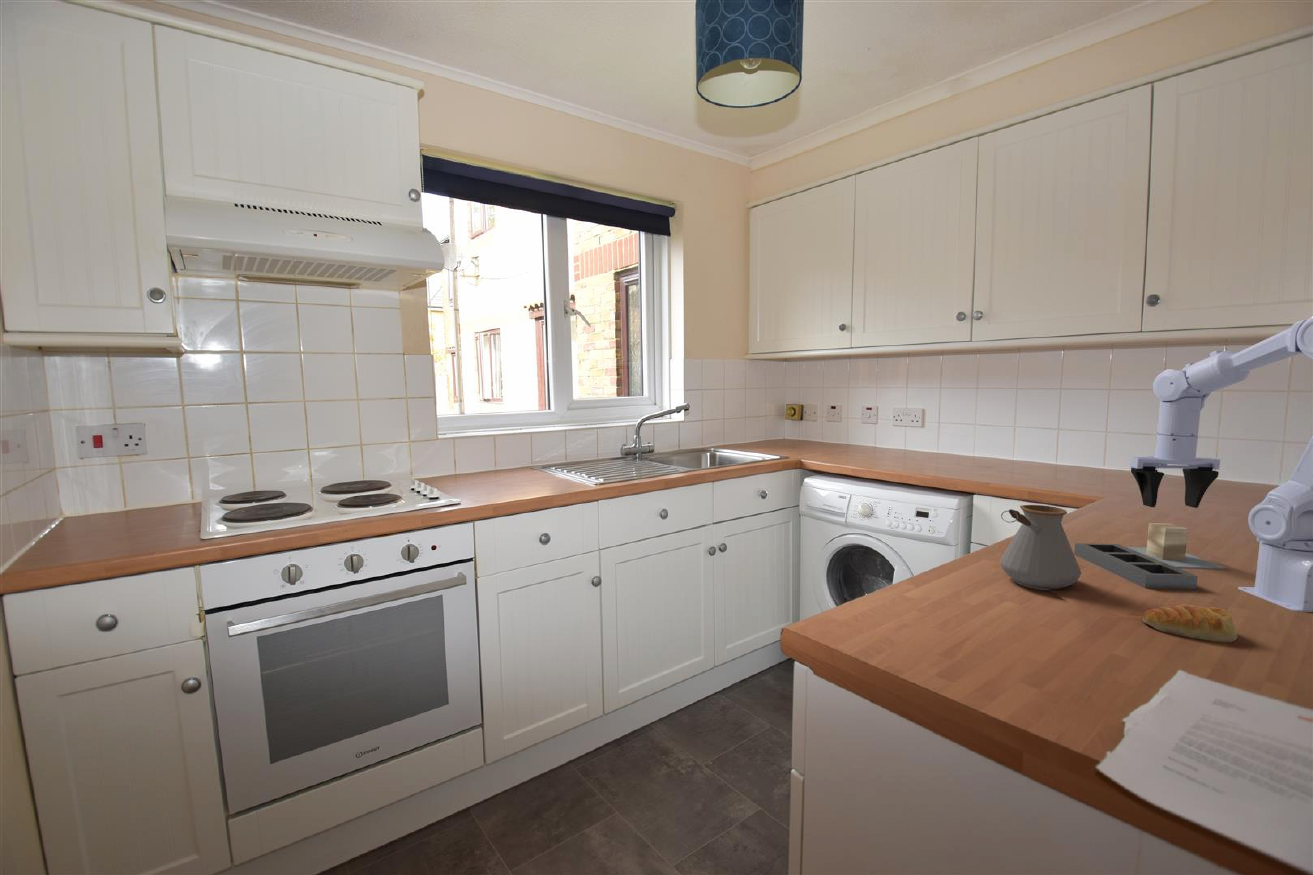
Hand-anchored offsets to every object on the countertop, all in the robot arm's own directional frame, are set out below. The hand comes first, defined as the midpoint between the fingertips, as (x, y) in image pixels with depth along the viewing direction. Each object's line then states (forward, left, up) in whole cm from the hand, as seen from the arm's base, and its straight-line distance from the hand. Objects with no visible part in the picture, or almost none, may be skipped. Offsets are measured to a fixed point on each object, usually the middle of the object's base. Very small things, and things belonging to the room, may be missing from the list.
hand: (1170, 506), depth 111 cm
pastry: (-33, +21, -11) cm, 40 cm away
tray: (-8, +12, -10) cm, 18 cm away
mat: (0, 0, -10) cm, 10 cm away
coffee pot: (-18, +35, -11) cm, 41 cm away
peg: (0, 0, -10) cm, 10 cm away
